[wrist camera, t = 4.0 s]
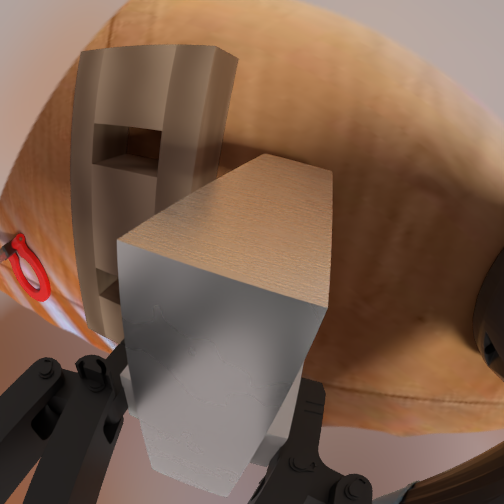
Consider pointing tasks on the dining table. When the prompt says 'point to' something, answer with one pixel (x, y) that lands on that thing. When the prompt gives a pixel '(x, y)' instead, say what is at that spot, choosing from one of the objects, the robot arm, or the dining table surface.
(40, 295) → the tow hook
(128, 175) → the slotted wooden block
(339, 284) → the dining table surface
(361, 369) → the dining table surface
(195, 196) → the clip
